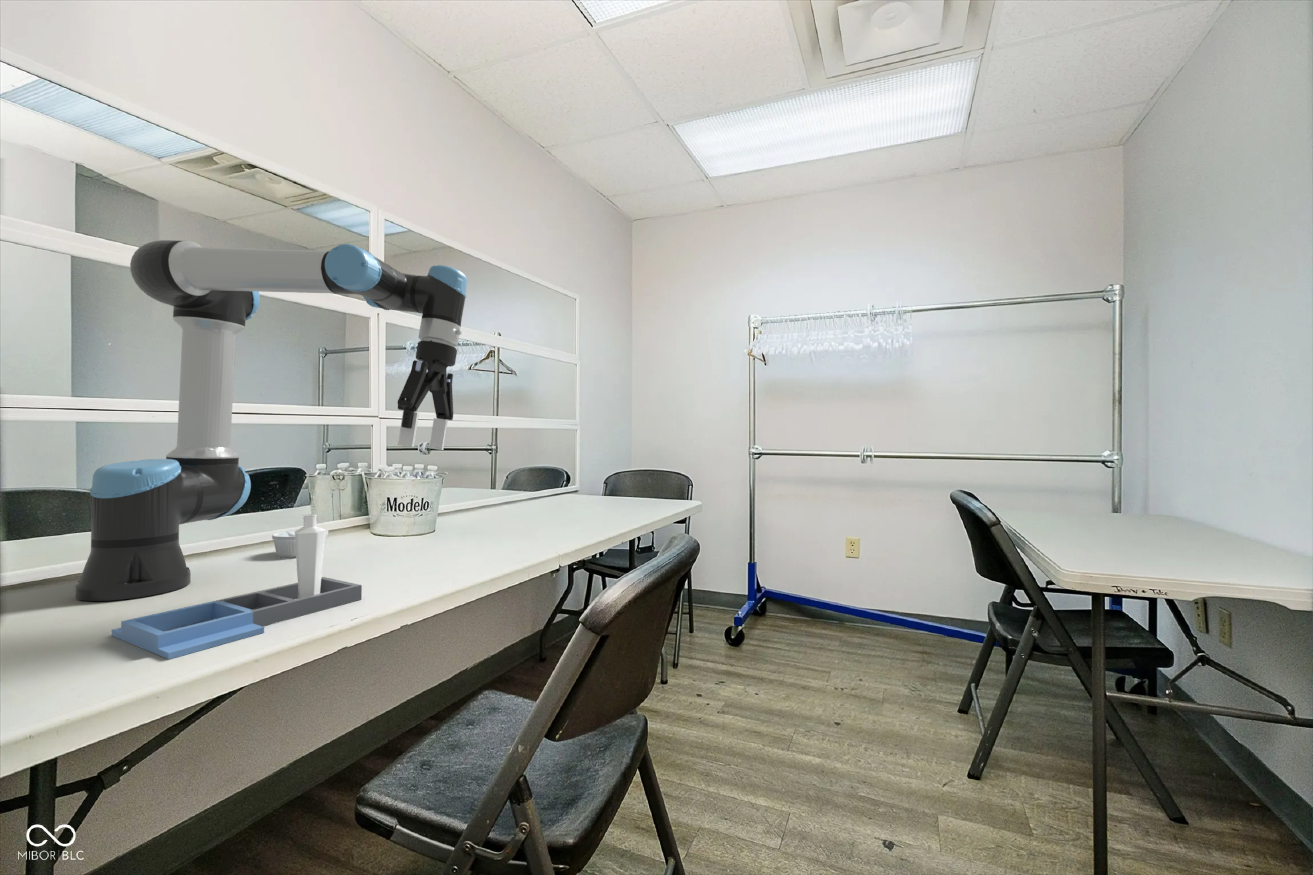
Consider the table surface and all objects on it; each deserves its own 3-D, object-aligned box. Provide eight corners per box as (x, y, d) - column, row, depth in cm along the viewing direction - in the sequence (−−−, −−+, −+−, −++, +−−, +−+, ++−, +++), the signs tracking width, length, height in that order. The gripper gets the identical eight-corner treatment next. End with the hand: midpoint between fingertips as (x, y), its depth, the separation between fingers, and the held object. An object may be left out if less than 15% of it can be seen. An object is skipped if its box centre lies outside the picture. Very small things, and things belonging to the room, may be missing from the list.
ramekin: (260, 557, 127) (260, 534, 127) (301, 548, 138) (302, 527, 138) (299, 560, 124) (299, 537, 125) (338, 551, 135) (339, 529, 135)
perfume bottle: (301, 608, 90) (302, 517, 90) (288, 604, 92) (289, 515, 92) (330, 602, 94) (331, 514, 94) (316, 597, 96) (318, 512, 96)
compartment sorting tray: (313, 588, 102) (313, 574, 102) (372, 601, 94) (372, 587, 94) (111, 635, 77) (111, 617, 77) (168, 659, 69) (169, 639, 69)
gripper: (429, 330, 99) (411, 446, 97) (477, 359, 123) (463, 452, 122) (388, 325, 99) (370, 441, 97) (444, 355, 124) (430, 448, 122)
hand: (421, 447), depth 110 cm, fingers open, 13 cm apart
